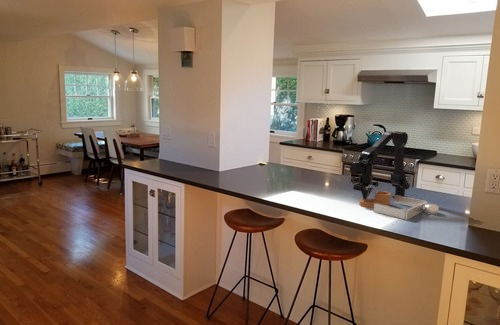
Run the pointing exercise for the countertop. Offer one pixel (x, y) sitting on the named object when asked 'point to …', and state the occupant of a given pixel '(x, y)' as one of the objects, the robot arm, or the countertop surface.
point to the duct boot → (415, 209)
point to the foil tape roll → (431, 209)
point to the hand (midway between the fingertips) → (364, 200)
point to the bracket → (376, 200)
